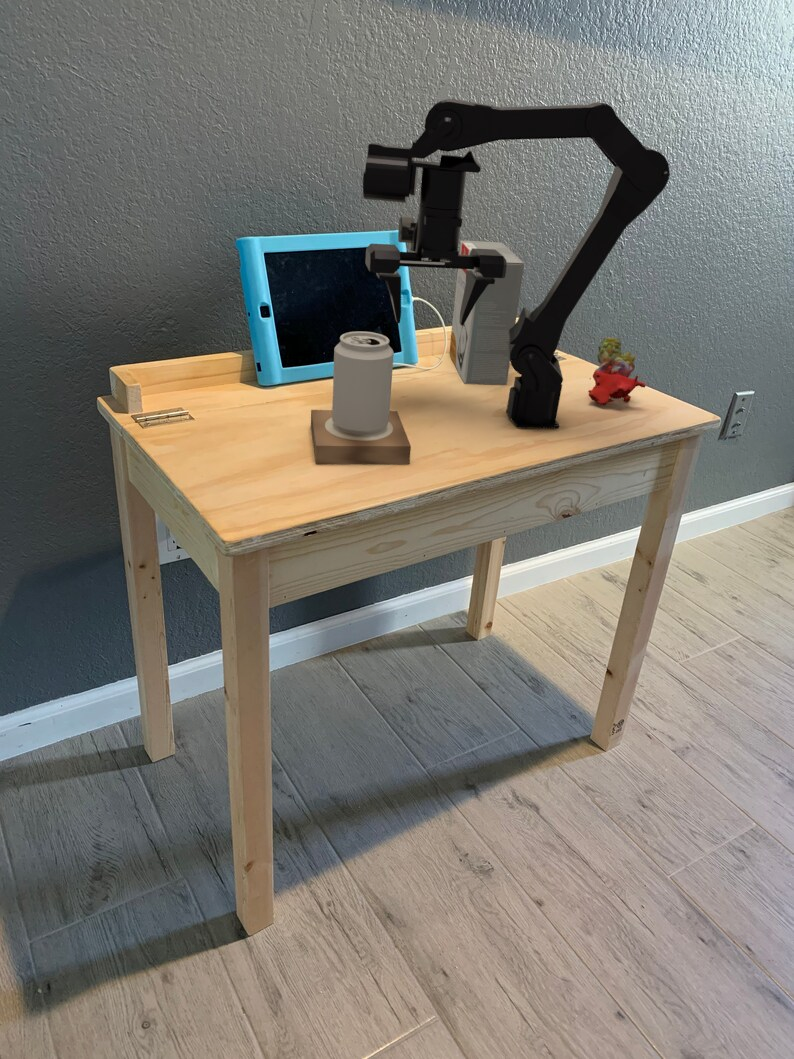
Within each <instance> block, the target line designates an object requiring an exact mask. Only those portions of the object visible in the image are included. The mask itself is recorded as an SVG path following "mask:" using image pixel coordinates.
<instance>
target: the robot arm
mask: <svg viewBox="0 0 794 1059" xmlns="http://www.w3.org/2000/svg"><path fill="white" fill-rule="evenodd" d="M587 138H589V139H591V140H592V141H593V142H594V144H595V145H596V146H597V148H598V149H599V150H600V151H601V152H602V154H603V155H604V156H605V157H606V158H607V160H608V161H609V162H610V164H612V166H613V167H614V169H613V172H612V174H611V176H610V179H609V181H608V183H607V186H606V189H605V192H604V195H603V198H602V201H601V205H600V207H599V210H598V212H597V213H596V215H595V216H594V218H593V220H592V221H591V223H590V224H589V226H588V228H587V230H586V231H585V233H584V234H583V236H582V238H581V239H580V240H579V242H578V244H577V245H576V247H575V249H574V250H573V253H572V254H571V255H570V257H569V259H568V261H567V262H566V263H565V265H564V267H563V268H562V270H561V272H560V273H559V274H558V277H557V278H556V280H555V282H554V283H553V285H552V286H551V288H550V290H549V291H548V293H547V295H546V296H545V298H544V299H543V301H542V302H541V303H540V304H539V305H538V306H537V307H536V308H534V309H533V311H530V310H528V308H526V307H523V308H522V310H521V311H520V314H519V317H518V319H517V320H516V324H515V325H514V326H513V327H512V328H511V329H509V337H510V340H509V355H510V365H511V367H512V369H514V371H515V372H517V373H518V374H519V376H515V377H514V383H513V386H511V387H510V388H509V393H508V394H509V395H508V402H507V407H506V412H505V413H506V414H507V415H508V417H509V419H510V420H511V421H512V423H513V424H514V426H515V427H516V428H519V429H559V428H560V424H559V423H558V421H557V417H558V416H557V415H558V410H559V405H560V400H561V399H560V398H561V393H562V389H563V382H564V378H563V373H562V369H561V365H560V362H559V359H558V358H557V357H556V356H555V353H556V351H557V348H558V345H559V342H560V340H561V337H562V332H563V331H564V327H565V324H566V322H567V320H568V318H569V316H571V314H572V312H573V311H574V309H575V307H576V305H577V304H578V303H579V301H580V300H581V298H582V297H583V295H584V293H585V292H586V290H587V288H588V287H589V285H590V284H591V283H592V281H593V279H594V278H595V276H596V275H597V273H598V272H599V270H600V269H601V267H602V265H603V263H604V262H605V261H606V259H607V257H608V256H609V254H610V253H611V252H612V249H613V248H614V247H615V245H616V243H617V242H618V240H620V237H621V236H622V234H623V233H624V231H625V229H626V228H627V227H628V226H629V225H631V223H633V222H634V220H636V219H637V218H638V217H639V216H640V215H642V214H643V213H644V211H646V210H647V209H648V208H649V207H650V206H651V204H652V203H653V202H654V201H655V200H656V199H657V197H658V196H659V195H660V194H661V193H662V192H663V191H664V189H665V188H666V187H667V184H668V183H669V179H670V175H671V174H670V166H669V161H668V160H667V158H666V157H665V156H664V155H663V154H662V153H661V152H660V151H657V150H654V149H652V148H650V147H647V146H644V144H642V142H641V141H640V140H639V139H638V138H637V137H636V136H635V134H634V133H633V132H632V131H631V130H630V129H629V128H628V127H627V126H626V125H625V124H624V123H623V121H622V120H621V119H620V118H619V116H617V115H616V111H615V110H614V108H613V107H612V106H611V105H610V104H608V103H604V102H599V101H598V102H597V101H596V102H593V103H590V104H573V105H572V104H571V105H569V104H567V105H562V104H560V105H537V106H536V105H535V106H496V105H490V104H484V103H478V102H473V101H468V100H461V99H457V98H456V99H455V98H447V99H442V100H440V101H439V102H437V103H435V104H434V105H433V106H432V107H431V108H430V109H429V110H428V112H427V114H426V117H425V123H424V131H423V132H422V134H421V135H420V136H419V138H418V139H415V140H413V141H412V142H411V147H403V146H394V145H393V146H391V145H385V144H383V143H377V142H371V143H369V144H368V146H367V155H366V156H367V157H366V161H365V169H364V171H363V176H362V190H363V191H362V195H363V199H364V200H369V201H371V200H372V201H381V202H392V203H399V204H401V203H403V204H406V203H407V202H408V198H410V196H416V192H417V184H418V169H419V168H421V169H422V170H421V180H420V182H421V183H420V191H419V192H420V193H419V194H420V195H419V204H418V205H419V206H418V214H417V219H416V220H417V221H416V222H415V218H414V217H411V216H410V217H409V216H408V217H407V216H400V217H399V222H398V229H397V230H398V231H397V234H398V235H397V240H398V243H405V244H407V243H408V244H410V251H400V250H399V248H398V247H397V245H396V244H390V243H389V244H388V243H386V244H385V243H369V245H368V246H367V247H366V250H365V261H364V262H365V265H366V267H367V270H368V271H369V272H370V273H374V274H376V277H377V278H378V279H379V280H382V281H385V284H386V287H387V290H388V293H389V296H390V301H391V305H392V309H393V314H394V317H395V321H396V323H397V324H400V323H401V319H402V318H401V317H402V276H401V275H400V272H398V271H399V270H400V267H407V268H408V267H412V268H413V267H414V268H415V267H416V268H432V269H435V268H436V269H455V270H456V269H457V270H458V269H471V270H466V285H465V290H464V295H463V300H462V305H461V310H460V321H459V323H460V325H464V323H465V321H466V320H467V318H468V316H469V314H470V312H471V310H472V309H473V307H474V305H475V303H476V302H477V300H478V298H479V297H480V296H481V294H482V293H483V291H484V290H485V289H486V287H487V286H488V285H489V284H495V279H494V278H505V275H506V267H507V263H506V259H505V258H504V256H503V255H501V254H500V253H499V252H498V251H496V250H495V249H475V248H472V250H471V252H470V255H459V254H460V250H459V245H460V243H459V242H460V236H461V234H460V233H461V228H462V227H463V218H462V216H463V215H462V214H463V205H464V197H465V186H466V177H467V173H476V174H477V173H480V172H481V171H482V168H481V167H482V165H481V164H480V163H479V162H478V160H476V158H475V157H474V154H473V151H472V150H468V151H467V152H466V153H465V154H464V155H463V156H460V155H450V154H441V156H440V161H423V160H415V159H426V158H427V157H429V156H431V155H432V154H434V153H435V152H438V151H440V152H447V153H449V152H453V151H458V150H463V149H468V148H472V147H475V146H480V145H484V144H487V143H491V142H497V141H505V140H506V141H508V140H509V141H512V140H542V139H543V140H544V139H545V140H546V139H547V140H549V139H550V140H551V139H587ZM422 259H423V260H422ZM425 259H426V260H425Z"/></svg>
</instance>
